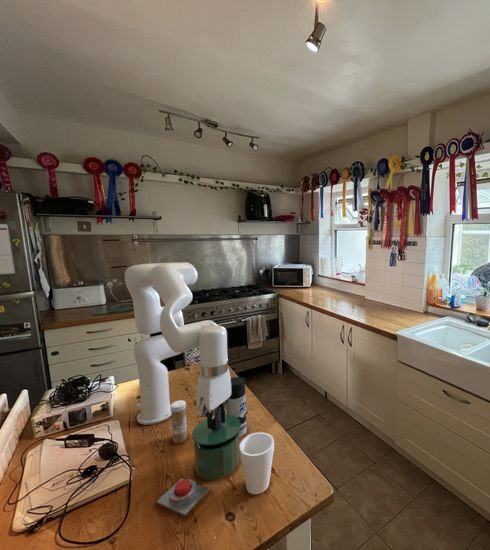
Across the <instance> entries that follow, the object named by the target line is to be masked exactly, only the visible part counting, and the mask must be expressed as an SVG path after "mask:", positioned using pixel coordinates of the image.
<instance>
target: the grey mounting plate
mask: <svg viewBox="0 0 490 550" xmlns="http://www.w3.org/2000/svg"><path fill="white" fill-rule="evenodd" d="M183 479H184V478H182V477H181V478H180V479H179V480H178V481H177V482H176V483H174V484H173V485H172V486H171V487H170V488H169V489H168V490H167V491H166V492H164V493H163V494H162V495H161V496H160V497H159V498H158V499H157V500H156V502H155V503H156V505H157V506H160V507H163V508H165V509H167V510H168V511H171V512H174V513H176V514H177V515H180V516H182V517H184V518H185V517H187V516H188V515H189V514H190V512H191V511H193V509H194V508H195V507H196V506H197V505H198V504H199V503H200V502H201V501H202V500H203V498H205V496H206V495H207V494H208V493H209V492H210V488H208V487H205V486H203V485H200V484H197V482H196V480H194V479H191V478H187V479H188V480H189V481H190V490H189V492H188V493H187V494H185V495H183V496H177V495H176V494H175V485H176V484H177V483H178V482H179V481H181V480H183Z"/></svg>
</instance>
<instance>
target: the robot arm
mask: <svg viewBox="0 0 490 550" xmlns="http://www.w3.org/2000/svg"><path fill="white" fill-rule="evenodd" d="M197 280H198V272H197V270H196V267H195V266H194V265H193V264H191V263H190V262H186V261H183V262H182V261H181V262H179V261H178V262H176V261H175V262H173V261H172V262H158V263H157V262H156V263H154V262H152V263H141V264H134V265H131V266H129V267H128V268H126V270H125V272H124V281H125V286H126V289H127V290H128V293H129V295H130V297H131V299H132V304H133V313H134V314H133V315H134V322H135V328H136V330H137V333H138V334H140V335H143V336H144V335H146V336H147V335H153V334H157V333H161V334H158V335H154V336H149V337H146V338H143V339H141V340H139V341H138V342H136V343H135V344H134V347H133V355H134V358H135V362H136V366H137V371H138V372H137V373H138V383H139V384H138V385H139V397H140V401H139V403H137V404H136V408H139V410H140V412H139V413H138V414H137V416H136V421H137V423H138V424H140V425H145V426H146V425H147V426H151V425H153V424H157V423H160V422H163V421H165V420H167V419H169V418H170V417H172V412H171V404H172V403H171V400H170V384H169V371H168V367H166V365H164V363H162V362H161V361H163V360H166V359H168V358H172V357H176V356H179V355H181V354H182V353H184V352H187V351H190V350H195V349H197V348H199V365H200V375H199V376H198V379H197V385H196V408H197V409H198V412H197V417H199V418H206V419H207V426H208V428H209V429H212V430H217V417H215V409H216V407H220V408H221V416H222V423H225V422H226V417H225V415H226V408H227V402H228V399H229V398H230V397H231V395H232V393H231V378H232V377H231V372H230V369H229V359H228V332H227V329H226V328H225V327H224V326H222V325H218V324H217V323H216V322H214V321H213V320H209V319H207V320H201V321H197V322H192V323H188V324H185V321H184V320H185V319H184V316H183V312H182V310H183V309H185V308H186V307H188V306H189V305H190V304H191V303H192V301H193V298H194V297H193V293H192V291H191V290H190V288H189V287H188V286H192V285H195V284H196V283H197ZM153 287H154V288H155V289H154V288H153ZM160 299H161V300H160ZM161 301H162V303H163V304H164V305H163V306H161Z"/></svg>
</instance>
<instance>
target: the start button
mask: <svg viewBox="0 0 490 550" xmlns="http://www.w3.org/2000/svg"><path fill="white" fill-rule="evenodd" d="M182 479H183V480H181V481H179V480H178V481H179V482H178V481H177V482H178V483H177V482H176V483H177V484H176V483H175V484H176V485H175V484H174V485H175V494H176V495H177V496H183V495H185V494H187V493H188V492H189V490H190V481H189V480H188V479H189V478H182Z"/></svg>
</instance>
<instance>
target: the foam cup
mask: <svg viewBox="0 0 490 550" xmlns="http://www.w3.org/2000/svg"><path fill="white" fill-rule="evenodd" d="M274 451H275V440H274V437H273V436H272V435H271V433H267V432H264V431H262V432H261V431H260V432H252V433H251V434H248V435H247V436H245V437H243V439H242V440H241V441H240V442H239V459H240V461H241V467H242V472H243V477H244V483H245V489H246V491H247V493H249V494H251V495H259V494H262V493H264V492H265V491H266V490H267V489H268V488H269V485H270V481H271V473H272V467H273V464H272V463H273V457H274Z"/></svg>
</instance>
